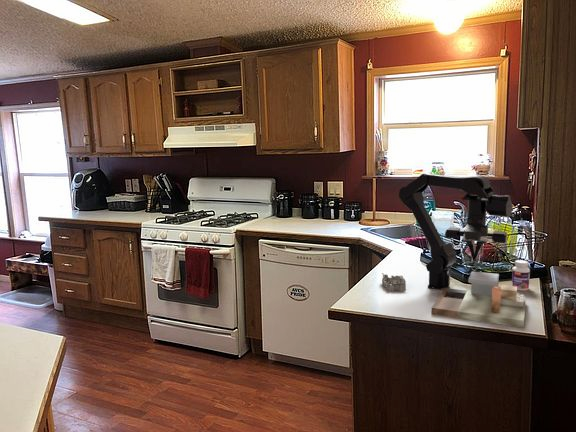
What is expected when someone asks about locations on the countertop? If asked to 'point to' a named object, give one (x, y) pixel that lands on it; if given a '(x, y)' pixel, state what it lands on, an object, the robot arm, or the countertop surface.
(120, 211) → the countertop surface
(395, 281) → the grey stone castle ruin
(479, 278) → the tunnel
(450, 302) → the deck
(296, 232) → the countertop surface
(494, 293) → the sled
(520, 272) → the pill bottle
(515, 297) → the maple block
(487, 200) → the robot arm
